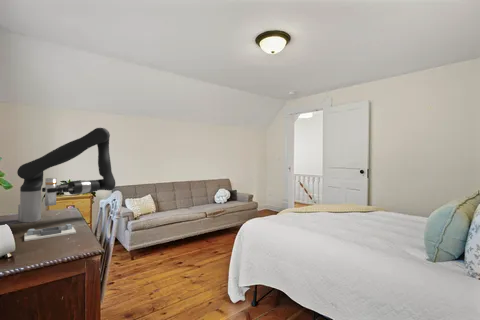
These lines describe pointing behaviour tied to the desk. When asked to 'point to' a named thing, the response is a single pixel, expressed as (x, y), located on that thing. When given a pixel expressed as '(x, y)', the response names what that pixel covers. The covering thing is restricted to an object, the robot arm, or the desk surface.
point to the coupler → (50, 197)
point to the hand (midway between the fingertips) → (45, 190)
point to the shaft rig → (49, 232)
